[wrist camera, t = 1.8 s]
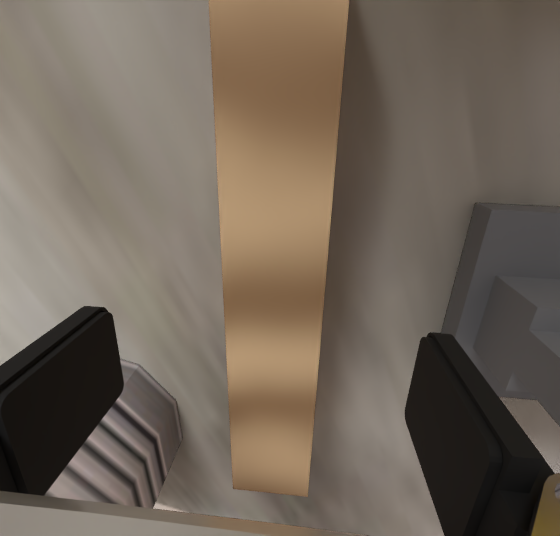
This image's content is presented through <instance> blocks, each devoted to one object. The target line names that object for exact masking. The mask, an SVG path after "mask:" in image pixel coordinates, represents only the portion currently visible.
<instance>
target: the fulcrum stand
mask: <svg viewBox="0 0 560 536" xmlns="http://www.w3.org/2000/svg"><path fill="white" fill-rule="evenodd" d="M441 333H444V334H452V335H453V336H454V338H455V339H456V340H457V342H458V343H459V344H460V346H461V347H462V348H463V350H464V351H465V352H466V354H467V355H468V356H469V358H470V359H471V361H472V362H473V363H474V365H475V366H476V367H477V369H478V370H479V371H480V373H481V374H482V375H483V377H484V378H485V379H486V381H487V382H488V384H489V385H490V386H491V388H492V389H493V390H494V392H495V393H496V394H497V396H498V397H508V398H520V399H531V400H538V402H539V403H540V404H541V405H542V406H543V407H544V409H545V410H546V411H547V412H548V413H549V414H550V416H551V417H552V418H553V419H554V420H555V422H556V423H557V424H558V425H559V426H560V207H553V206H533V205H512V204H491V203H475V206H474V210H473V214H472V217H471V221H470V225H469V229H468V233H467V236H466V240H465V244H464V248H463V252H462V255H461V259H460V263H459V267H458V271H457V274H456V278H455V282H454V286H453V289H452V293H451V297H450V301H449V305H448V308H447V312H446V316H445V320H444V324H443V327H442V331H441Z"/></svg>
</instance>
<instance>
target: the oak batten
mask: <svg viewBox="0 0 560 536" xmlns="http://www.w3.org/2000/svg"><path fill="white" fill-rule="evenodd" d="M348 9H349V0H209V17H210V37H211V57H212V77H213V97H214V117H215V137H216V157H217V177H218V197H219V217H220V237H221V257H222V277H223V297H224V317H225V337H226V357H227V377H228V397H229V417H230V438H231V458H232V478H233V489H239V490H249V491H258V492H268V493H277V494H287V495H296V496H306V497H308V486H309V474H310V462H311V450H312V438H313V426H314V414H315V402H316V391H317V379H318V367H319V355H320V343H321V331H322V319H323V307H324V295H325V283H326V271H327V259H328V247H329V235H330V223H331V212H332V200H333V188H334V176H335V164H336V152H337V140H338V128H339V116H340V104H341V92H342V80H343V68H344V56H345V44H346V32H347V21H348Z"/></svg>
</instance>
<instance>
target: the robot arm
mask: <svg viewBox="0 0 560 536" xmlns="http://www.w3.org/2000/svg"><path fill="white" fill-rule="evenodd" d="M123 388H124V379H123V374H122V368H121V362H120V356H119V350H118V344H117V338H116V332H115V326H114V321H113V316H112V314H111V313H109V312H108V311H107V309H106V308H104V307H92V306H84V307H82V308H81V309H79V310H78V311H76V312H75V313H74V314H72V315H71V316H69V317H68V318H67V319H65V320H64V321H62V322H61V323H60V324H58V325H57V326H55V327H54V328H53V329H51V330H50V331H48V332H47V333H46V334H44V335H43V336H41V337H40V338H39V339H37V340H36V341H34V342H33V343H32V344H30V345H29V346H27V347H26V348H25V349H23V350H22V351H20V352H19V353H18V354H16V355H15V356H13V357H12V358H11V359H9V360H8V361H6V362H5V363H4V364H2V365H1V366H0V536H369V535H361V534H353V533H345V532H338V531H330V530H322V529H314V528H306V527H298V526H291V525H283V524H275V523H267V522H259V521H251V520H243V519H235V518H226V517H218V516H210V515H202V514H194V513H185V512H177V511H168V510H160V509H152V508H144V507H135V506H127V505H119V504H110V503H101V502H93V501H84V500H75V499H67V498H58V497H49V496H44V495H45V494H46V492H47V491H48V490H49V489H50V487H51V486H52V485H53V483H54V482H55V481H56V479H57V478H58V477H59V475H60V474H61V473H62V471H63V470H64V469H65V467H66V466H67V465H68V464H69V462H70V461H71V460H72V458H73V457H74V456H75V454H76V453H77V452H78V450H79V449H80V448H81V446H82V445H83V444H84V442H85V441H86V440H87V438H88V437H89V436H90V435H91V433H92V432H93V431H94V429H95V428H96V427H97V425H98V424H99V423H100V421H101V420H102V419H103V417H104V416H105V415H106V413H107V412H108V411H109V410H110V408H111V407H112V406H113V404H114V403H115V402H116V400H117V399H118V398H119V396H120V395H121V393H122V391H123ZM405 420H406V424H407V427H408V430H409V433H410V436H411V439H412V441H413V444H414V447H415V450H416V453H417V456H418V459H419V462H420V465H421V468H422V471H423V474H424V477H425V480H426V483H427V486H428V488H429V491H430V494H431V497H432V500H433V503H434V506H435V509H436V512H437V515H438V518H439V521H440V524H441V527H442V530H443V533H444V535H445V536H560V473H556V474H555V473H554V472H553V471H552V469H551V468H550V467H549V465H548V464H547V462H546V461H545V459H544V458H543V457H542V455H541V454H540V452H539V451H538V450H537V448H536V447H535V446H534V444H533V443H532V442H531V440H530V439H529V438H528V436H527V435H526V434H525V432H524V431H523V429H522V428H521V427H520V425H519V424H518V423H517V421H516V420H515V419H514V417H513V416H512V415H511V413H510V412H509V411H508V409H507V408H506V407H505V405H504V404H503V402H502V401H501V400H500V398H499V397H498V396H497V394H496V393H495V392H494V390H493V389H492V388H491V386H490V385H489V384H488V382H487V381H486V379H485V378H484V377H483V375H482V374H481V373H480V371H479V370H478V369H477V367H476V366H475V365H474V363H473V362H472V361H471V359H470V358H469V356H468V355H467V354H466V352H465V351H464V350H463V348H462V347H461V346H460V344H459V343H458V342H457V340H456V339H455V338H454V336H453V335H452V334H444V333H431V332H430V333H429V334H428V335H427V337H422V338H421V340H420V344H419V349H418V353H417V358H416V362H415V367H414V371H413V376H412V380H411V385H410V389H409V394H408V398H407V402H406V407H405Z"/></svg>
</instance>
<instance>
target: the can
mask: <svg viewBox="0 0 560 536" xmlns="http://www.w3.org/2000/svg"><path fill="white" fill-rule="evenodd" d="M120 362H121V368H122V374H123V379H124V388H123V391H122V393H121V395H120V396H119V398H118V399H117V400H116V402H115V403H114V404H113V406H112V407H111V408H110V410H109V411H108V412H107V413H106V415H105V416H104V417H103V419H102V420H101V421H100V423H99V424H98V425H97V427H96V428H95V429H94V431H93V432H92V433H91V435H90V436H89V437H88V438H87V440H86V441H85V442H84V444H83V445H82V446H81V448H80V449H79V450H78V452H77V453H76V454H75V456H74V457H73V458H72V460H71V461H70V462H69V464H68V465H67V466H66V467H65V469H64V470H63V471H62V473H61V474H60V475H59V477H58V478H57V479H56V481H55V482H54V483H53V485H52V486H51V487H50V489H49V490H48V491H47V492H46V494H45V495H44V496H49V497H58V498H67V499H75V500H84V501H93V502H101V503H110V504H119V505H127V506H135V507H144V508H152V509H153V507H154V505H155V502H156V500H157V497H158V495H159V493H160V490H161V488H162V486H163V483H164V481H165V478H166V476H167V474H168V471H169V469H170V467H171V464H172V462H173V459H174V457H175V455H176V452H177V450H178V448H179V445H180V443H181V440H182V438H183V437H182V431H181V425H180V419H179V414H178V408H177V402H176V399H175V398H174V397H172V396H171V395H170V394H169V393H168V392H167V391H166V390H165V389H164V388H163V387H162V386H161V385H160V384H159V383H158V382H157V381H156V380H155V379H154V378H153V377H152V376H151V375H150V374H149V373H148V372H147V371H146V370H145V369H144V368H143V367H141V366H140V365H139V364H136V363H133V362H130V361H126V360H123V359H120Z"/></svg>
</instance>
